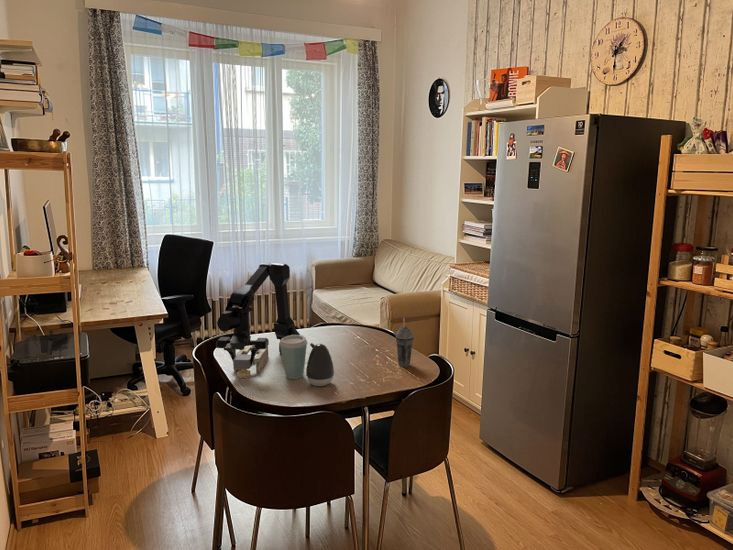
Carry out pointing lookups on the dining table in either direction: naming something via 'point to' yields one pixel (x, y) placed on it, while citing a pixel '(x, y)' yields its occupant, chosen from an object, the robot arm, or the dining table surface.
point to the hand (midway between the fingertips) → (243, 364)
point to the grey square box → (242, 365)
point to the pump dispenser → (319, 366)
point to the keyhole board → (260, 358)
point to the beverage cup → (404, 345)
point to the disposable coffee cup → (293, 355)
